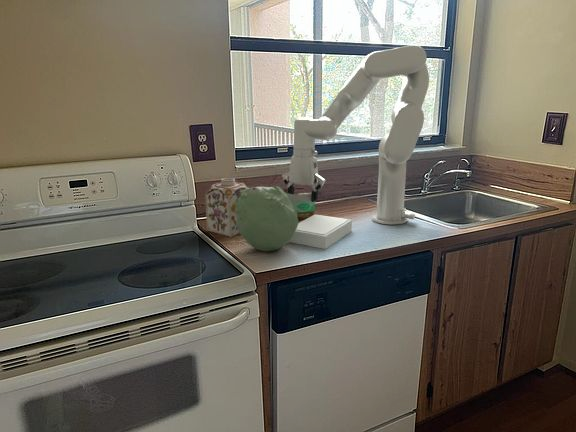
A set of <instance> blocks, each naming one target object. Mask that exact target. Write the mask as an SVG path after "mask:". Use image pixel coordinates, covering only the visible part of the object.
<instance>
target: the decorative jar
mask: <svg viewBox="0 0 576 432" xmlns="http://www.w3.org/2000/svg"><path fill="white" fill-rule="evenodd" d="M246 188H249V187H248V186H247V185H246V184H245V183H243V182H238V181H236V179H235V178H234V177H233V178H231V177H226V178H221V179H220V182H217V183H214V184H212V185H211V186H210V187H209V188H208V190H207V191H206V192H205V194H204V195H205V215H206V219H205V220H206V229H207V231H208V232H211V233H215V234H219V235H222V236H226V237H230V238H232V237H234V236H237V235H239V234H240V232H239V230H238V228H237V218H236V212H235V207H236V206H235V205H234V204H235V203H238V200H236V199H239V198H240V197H239V196H240V195H242V194H241V193H242V192H243V190H244V189H246ZM240 235H241V234H240Z"/></svg>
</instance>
